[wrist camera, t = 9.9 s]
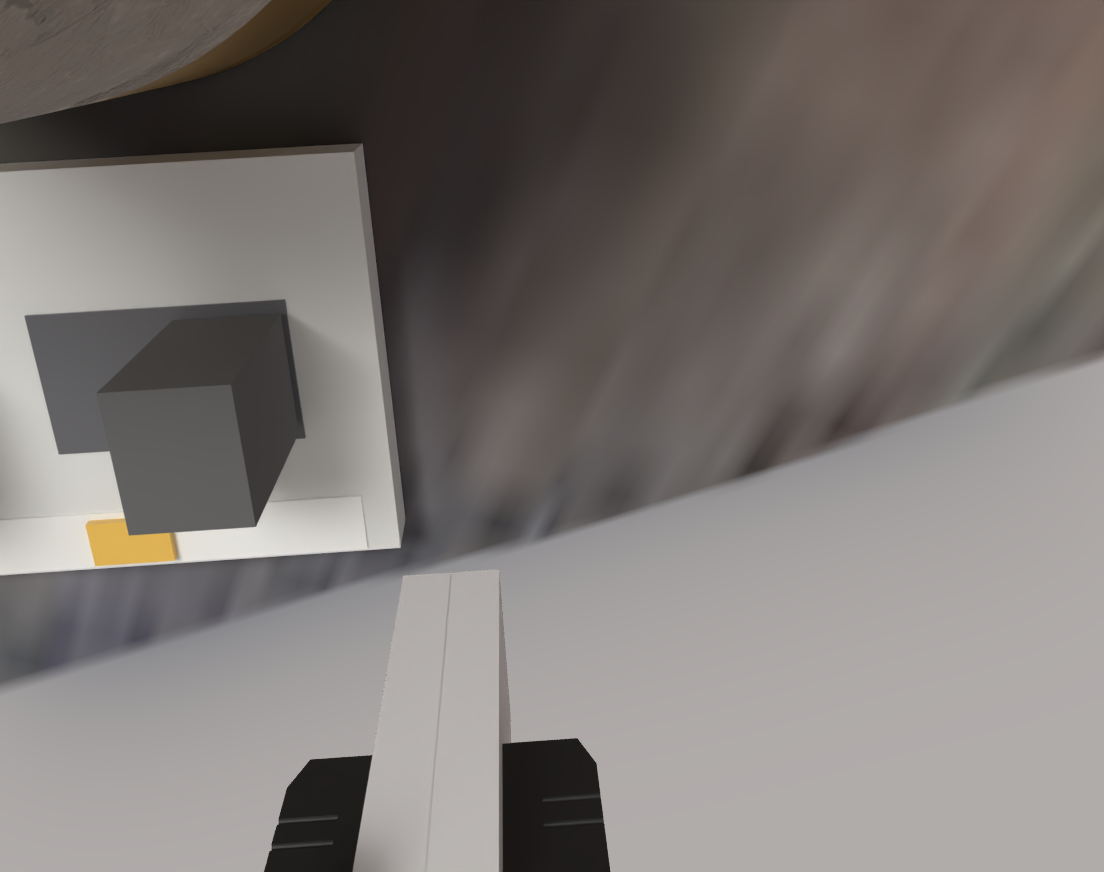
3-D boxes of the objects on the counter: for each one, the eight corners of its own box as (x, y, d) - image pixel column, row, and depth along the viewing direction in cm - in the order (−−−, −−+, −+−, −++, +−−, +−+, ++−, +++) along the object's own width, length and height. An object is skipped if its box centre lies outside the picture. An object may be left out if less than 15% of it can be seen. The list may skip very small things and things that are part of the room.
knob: (195, 439, 30) (128, 535, 25) (172, 320, 29) (96, 393, 23) (299, 432, 30) (256, 526, 25) (280, 313, 29) (230, 384, 23)
